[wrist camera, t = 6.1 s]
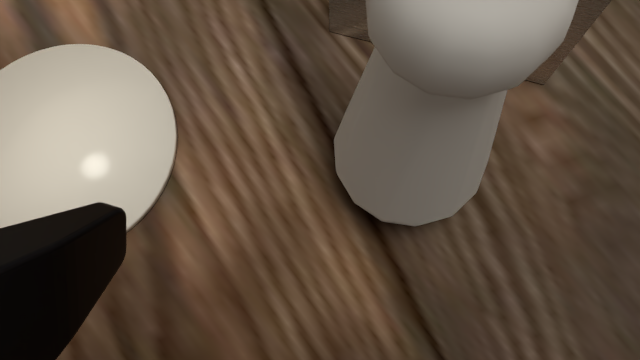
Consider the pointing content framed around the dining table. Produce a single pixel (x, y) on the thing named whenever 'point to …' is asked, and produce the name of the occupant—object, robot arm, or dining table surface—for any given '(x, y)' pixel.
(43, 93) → the coaster
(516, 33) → the salt shaker
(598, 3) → the flat rectangular plate
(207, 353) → the dining table surface
